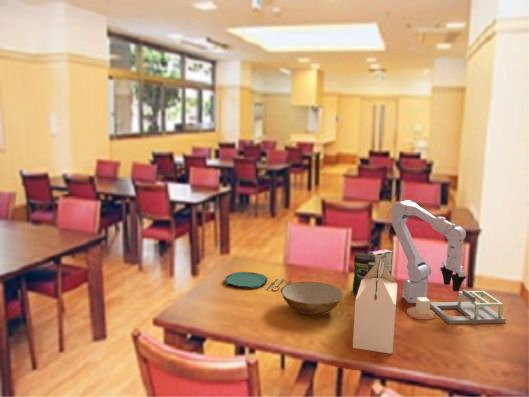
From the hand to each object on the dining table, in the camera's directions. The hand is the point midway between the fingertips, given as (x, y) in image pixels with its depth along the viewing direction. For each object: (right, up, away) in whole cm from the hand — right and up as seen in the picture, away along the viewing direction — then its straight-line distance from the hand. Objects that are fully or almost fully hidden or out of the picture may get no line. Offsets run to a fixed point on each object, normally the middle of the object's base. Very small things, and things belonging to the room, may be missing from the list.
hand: (451, 287), depth 201 cm
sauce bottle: (-34, -9, -1) cm, 35 cm away
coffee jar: (-33, -6, +17) cm, 38 cm away
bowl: (-58, -9, -3) cm, 59 cm away
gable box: (-37, -13, -25) cm, 47 cm away
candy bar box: (-23, -4, +29) cm, 37 cm away
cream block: (-13, -9, -4) cm, 16 cm away
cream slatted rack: (+10, -8, -2) cm, 14 cm away
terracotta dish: (-14, -10, -4) cm, 17 cm away
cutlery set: (-81, -4, +27) cm, 85 cm away
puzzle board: (+5, -10, -3) cm, 12 cm away
